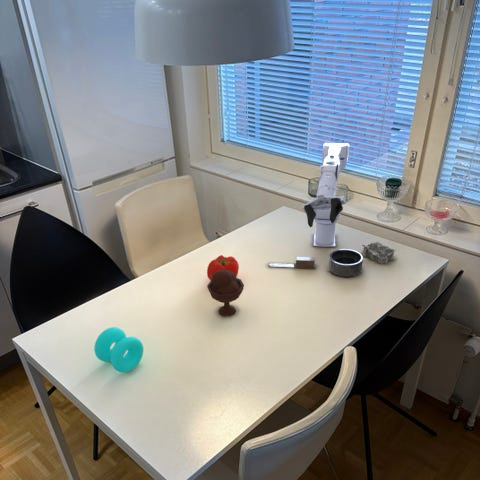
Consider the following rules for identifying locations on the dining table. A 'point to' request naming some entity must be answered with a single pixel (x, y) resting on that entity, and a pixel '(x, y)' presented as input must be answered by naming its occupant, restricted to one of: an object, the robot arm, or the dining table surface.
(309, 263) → the knife
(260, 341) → the dining table surface
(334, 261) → the bowl
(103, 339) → the donuts
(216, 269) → the tomato
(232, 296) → the ice cream bowl
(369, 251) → the egg carton
